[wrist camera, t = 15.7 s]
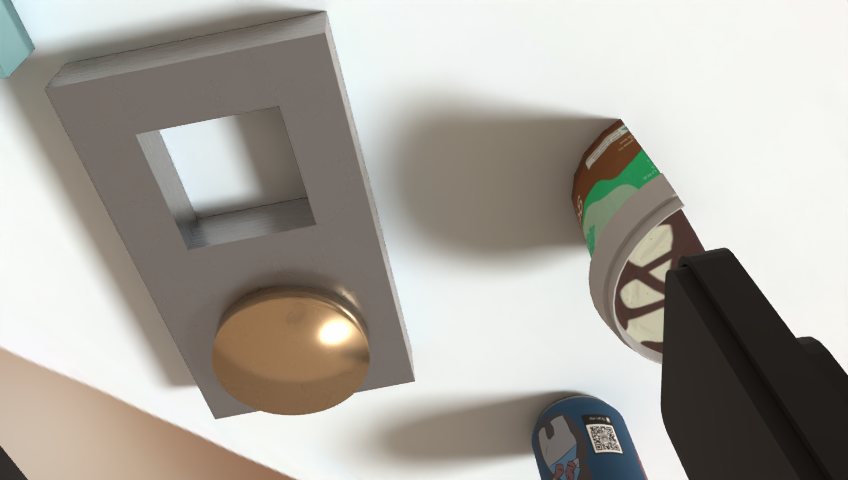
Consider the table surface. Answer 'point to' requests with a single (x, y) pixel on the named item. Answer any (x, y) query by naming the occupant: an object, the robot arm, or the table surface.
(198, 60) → the bracket
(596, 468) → the soda can
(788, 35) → the table surface
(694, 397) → the robot arm
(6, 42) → the tray
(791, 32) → the table surface
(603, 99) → the table surface
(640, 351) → the food container
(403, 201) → the table surface
